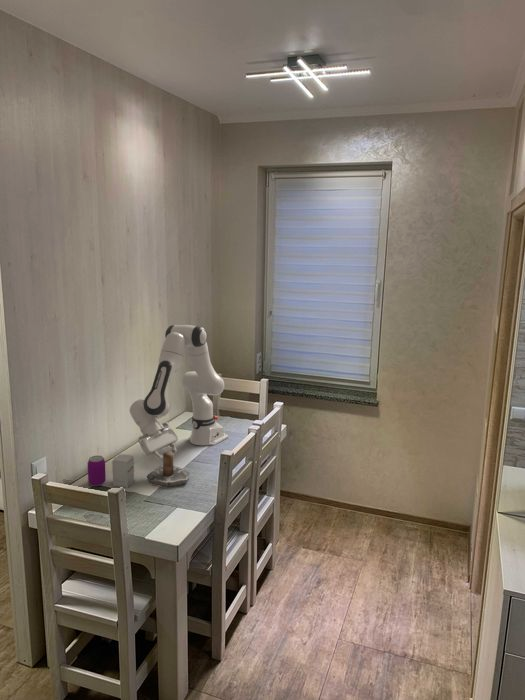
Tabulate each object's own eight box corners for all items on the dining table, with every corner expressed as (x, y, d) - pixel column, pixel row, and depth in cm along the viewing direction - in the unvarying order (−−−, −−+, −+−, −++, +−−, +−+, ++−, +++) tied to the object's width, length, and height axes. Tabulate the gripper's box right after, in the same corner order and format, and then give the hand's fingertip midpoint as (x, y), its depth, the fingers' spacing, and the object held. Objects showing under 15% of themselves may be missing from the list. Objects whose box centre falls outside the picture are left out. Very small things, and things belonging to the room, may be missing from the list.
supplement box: (127, 488, 229) (126, 462, 227) (112, 486, 231) (111, 460, 228) (134, 480, 236) (134, 455, 234) (119, 478, 238) (119, 453, 235)
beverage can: (109, 481, 235) (108, 456, 233) (97, 488, 228) (96, 463, 226) (96, 477, 238) (95, 453, 236) (84, 484, 231) (83, 459, 229)
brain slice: (188, 471, 249) (188, 465, 249) (190, 487, 233) (190, 481, 232) (147, 472, 246) (147, 467, 245) (146, 489, 229) (145, 483, 229)
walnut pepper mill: (168, 470, 242) (168, 451, 240) (175, 474, 239) (175, 454, 237) (160, 474, 238) (160, 454, 236) (167, 477, 235) (167, 457, 233)
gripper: (140, 434, 229) (156, 460, 226) (170, 421, 246) (186, 445, 244) (133, 441, 232) (149, 467, 230) (163, 428, 250) (179, 452, 247)
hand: (168, 455), depth 237 cm, fingers open, 8 cm apart
